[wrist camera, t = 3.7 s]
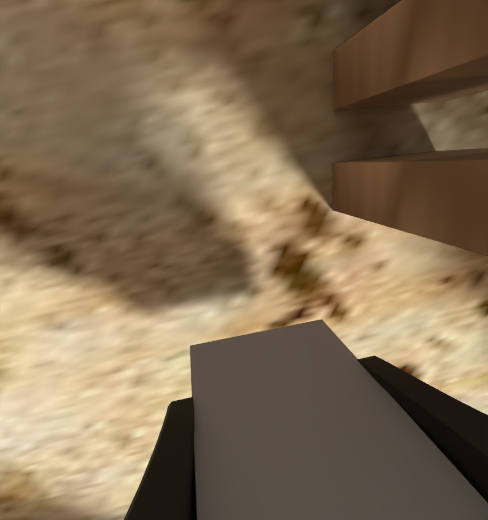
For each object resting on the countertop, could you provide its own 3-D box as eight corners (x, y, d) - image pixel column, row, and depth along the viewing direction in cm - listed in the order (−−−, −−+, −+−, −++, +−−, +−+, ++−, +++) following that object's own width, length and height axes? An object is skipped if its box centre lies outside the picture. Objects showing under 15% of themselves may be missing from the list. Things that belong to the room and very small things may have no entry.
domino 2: (431, 196, 14) (822, 245, 5) (332, 210, 13) (610, 292, 5) (436, 151, 13) (890, 126, 5) (332, 162, 12) (656, 157, 4)
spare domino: (322, 362, 12) (664, 846, 3) (198, 390, 11) (248, 1104, 3) (321, 319, 11) (743, 785, 3) (189, 345, 10) (222, 1099, 2)
